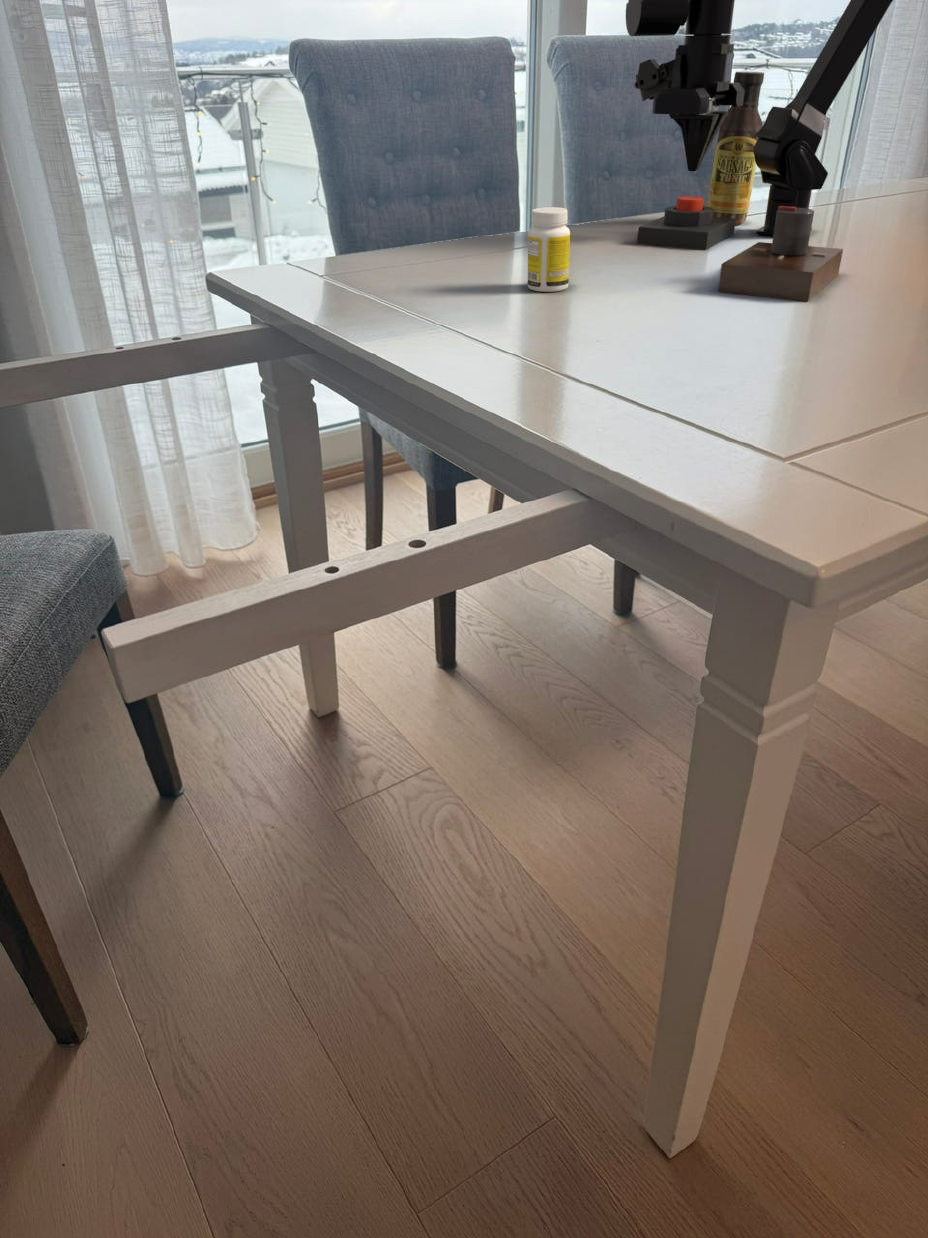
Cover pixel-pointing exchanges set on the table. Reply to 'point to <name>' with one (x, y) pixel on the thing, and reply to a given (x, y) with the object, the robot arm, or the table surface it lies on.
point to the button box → (686, 229)
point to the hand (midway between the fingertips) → (692, 170)
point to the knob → (792, 231)
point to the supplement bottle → (548, 250)
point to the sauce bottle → (737, 153)
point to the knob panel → (780, 272)
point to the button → (689, 203)
